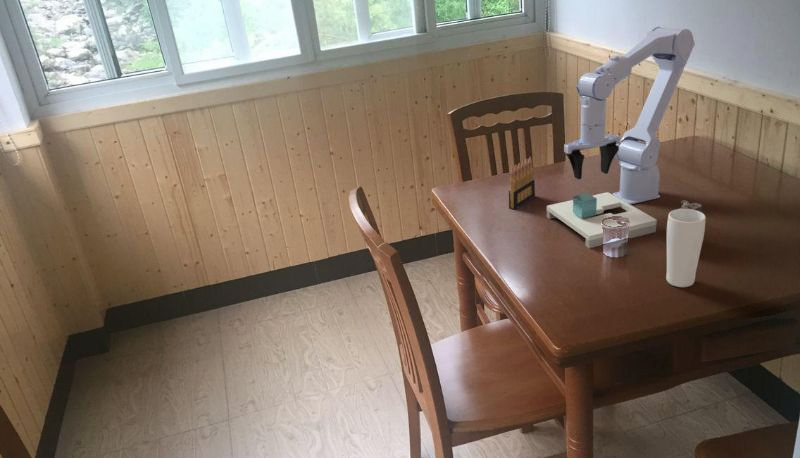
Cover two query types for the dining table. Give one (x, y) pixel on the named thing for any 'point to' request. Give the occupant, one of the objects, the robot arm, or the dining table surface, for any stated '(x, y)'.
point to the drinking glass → (683, 245)
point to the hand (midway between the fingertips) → (591, 175)
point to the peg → (584, 205)
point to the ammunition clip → (521, 184)
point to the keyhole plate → (592, 226)
